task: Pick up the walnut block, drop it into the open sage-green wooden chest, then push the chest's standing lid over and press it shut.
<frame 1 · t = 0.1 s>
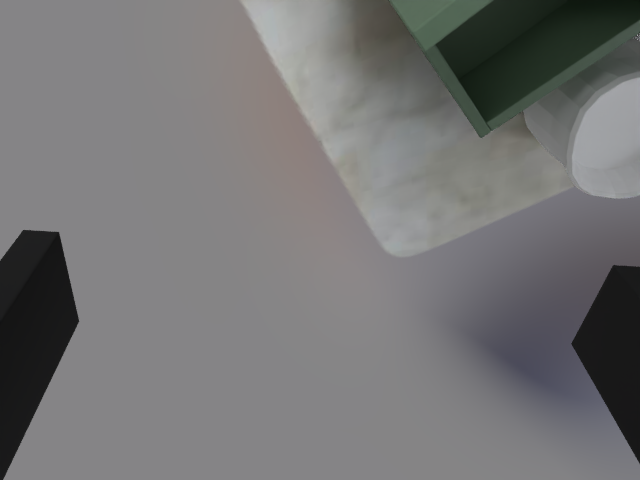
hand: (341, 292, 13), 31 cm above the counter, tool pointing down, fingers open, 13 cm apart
cup: (578, 85, 42), on the counter
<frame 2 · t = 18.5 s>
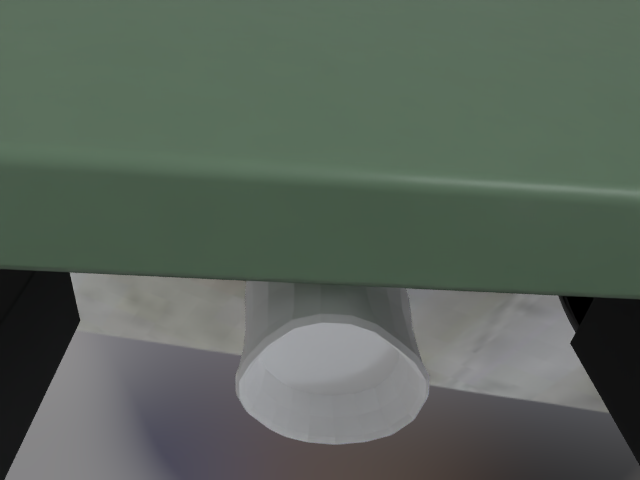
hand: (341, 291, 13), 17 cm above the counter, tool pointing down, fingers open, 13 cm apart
cup: (324, 268, 34), on the counter
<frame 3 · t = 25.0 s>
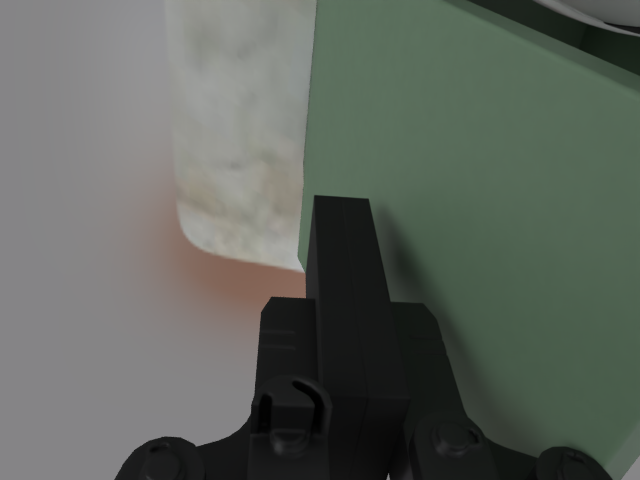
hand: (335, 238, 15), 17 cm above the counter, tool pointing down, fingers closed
chest: (445, 68, 29), on the counter
lid: (401, 240, 15), point 17 cm above the counter, hinge at 73.7°, touching gripper
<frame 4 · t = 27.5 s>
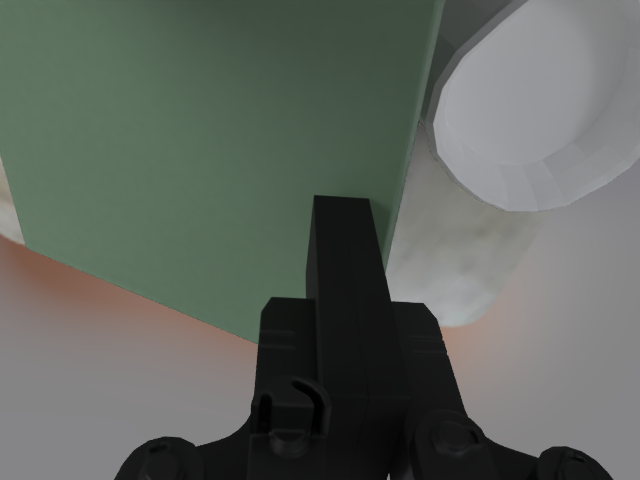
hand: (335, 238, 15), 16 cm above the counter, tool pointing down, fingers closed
cup: (483, 34, 28), on the counter
lid: (169, 162, 17), point 13 cm above the counter, hinge at 26.1°
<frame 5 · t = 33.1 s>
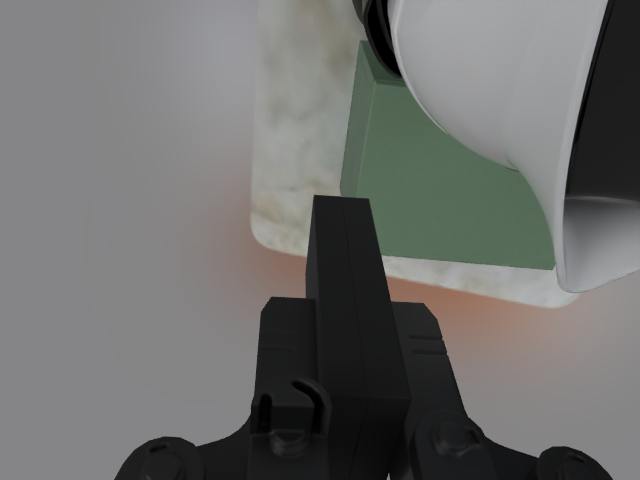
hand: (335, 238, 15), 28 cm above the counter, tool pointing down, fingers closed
chest: (436, 126, 43), on the counter
lid: (472, 184, 36), point 10 cm above the counter, hinge at 2.8°
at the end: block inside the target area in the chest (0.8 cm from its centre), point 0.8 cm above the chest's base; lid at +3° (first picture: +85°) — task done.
